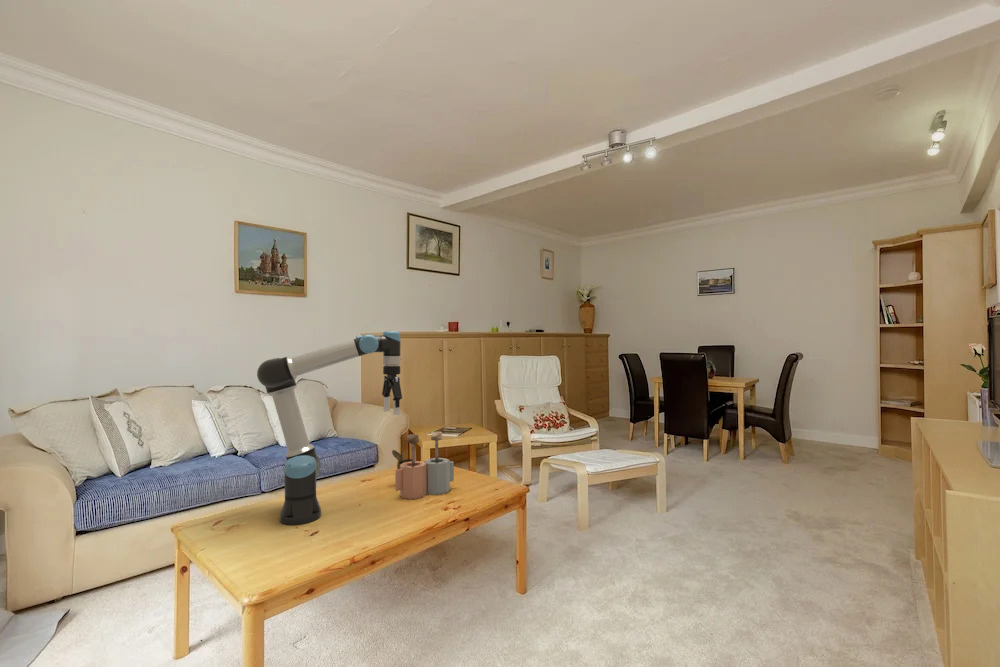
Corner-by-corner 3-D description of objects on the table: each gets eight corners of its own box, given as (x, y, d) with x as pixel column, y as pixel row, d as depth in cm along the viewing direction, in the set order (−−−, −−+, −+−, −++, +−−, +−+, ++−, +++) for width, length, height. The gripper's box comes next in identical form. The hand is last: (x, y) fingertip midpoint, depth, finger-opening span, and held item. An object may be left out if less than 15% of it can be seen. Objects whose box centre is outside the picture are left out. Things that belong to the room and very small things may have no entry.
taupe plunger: (409, 473, 213) (409, 436, 213) (406, 470, 217) (405, 434, 218) (420, 471, 215) (420, 435, 216) (416, 468, 220) (416, 433, 220)
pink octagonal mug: (399, 501, 207) (399, 469, 208) (392, 495, 217) (391, 464, 217) (429, 496, 214) (429, 465, 214) (420, 490, 224) (420, 460, 224)
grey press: (430, 496, 214) (430, 465, 215) (421, 489, 224) (421, 460, 224) (458, 491, 221) (457, 460, 221) (448, 485, 231) (448, 456, 231)
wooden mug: (387, 485, 231) (387, 448, 231) (408, 479, 242) (408, 443, 242) (399, 489, 226) (398, 451, 226) (420, 482, 236) (420, 446, 236)
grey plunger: (433, 469, 219) (433, 433, 219) (429, 466, 223) (429, 432, 223) (444, 467, 221) (443, 432, 222) (439, 465, 226) (439, 431, 226)
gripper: (409, 366, 205) (409, 416, 204) (391, 364, 226) (390, 409, 226) (392, 366, 201) (392, 417, 200) (375, 364, 222) (375, 410, 222)
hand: (391, 413), depth 213 cm, fingers open, 13 cm apart
